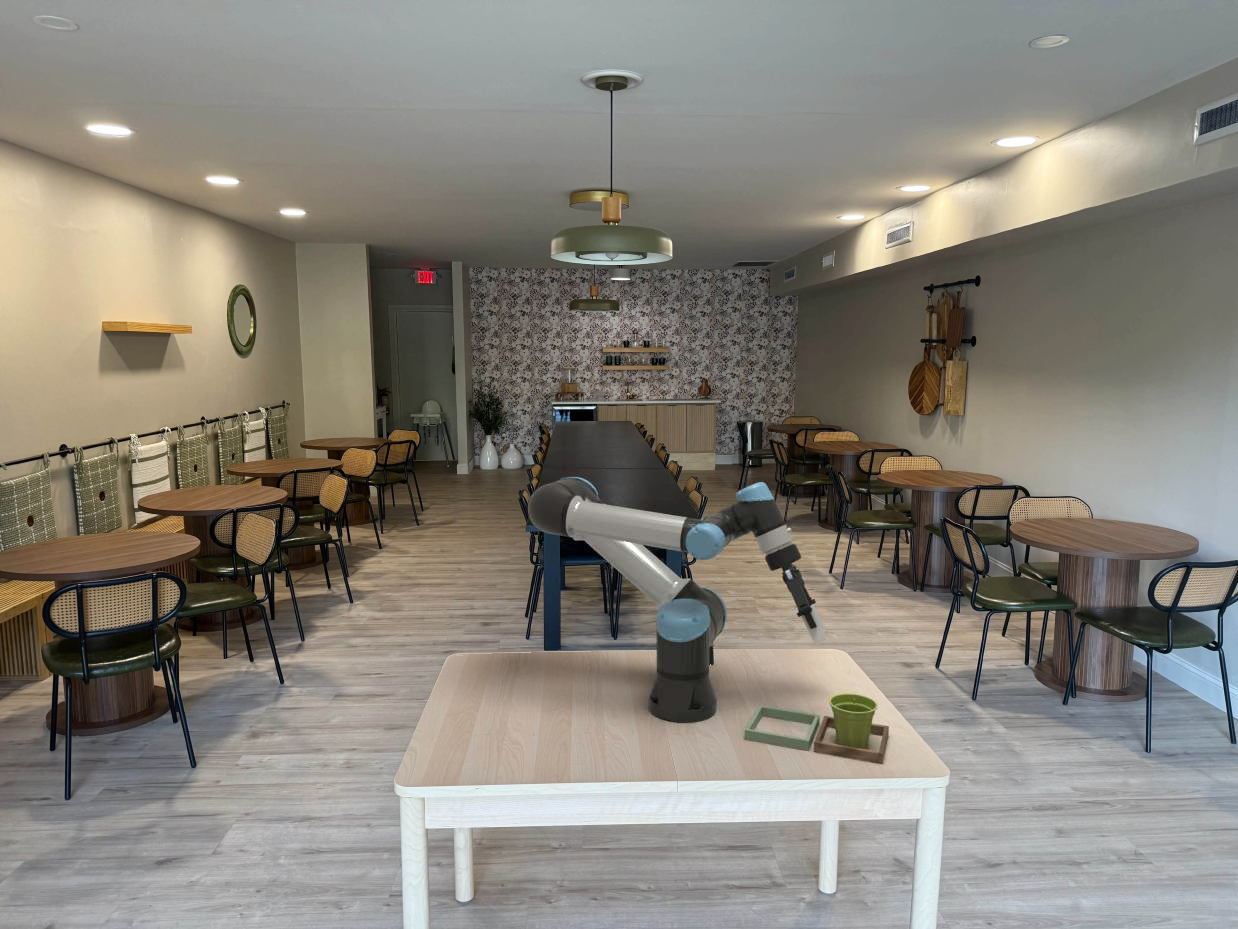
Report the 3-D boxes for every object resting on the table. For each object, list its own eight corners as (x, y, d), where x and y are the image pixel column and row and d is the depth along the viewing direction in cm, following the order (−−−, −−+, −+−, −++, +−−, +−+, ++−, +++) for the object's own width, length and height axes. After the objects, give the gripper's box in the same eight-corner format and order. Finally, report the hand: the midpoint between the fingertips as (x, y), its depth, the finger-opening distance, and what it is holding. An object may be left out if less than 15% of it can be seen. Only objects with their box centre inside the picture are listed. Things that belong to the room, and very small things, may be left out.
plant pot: (818, 741, 164) (819, 700, 163) (847, 728, 169) (849, 689, 168) (856, 759, 156) (857, 716, 155) (885, 745, 162) (887, 704, 161)
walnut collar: (813, 751, 159) (814, 742, 159) (824, 724, 171) (824, 715, 171) (882, 764, 154) (882, 754, 154) (888, 735, 166) (888, 726, 166)
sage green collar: (744, 739, 165) (744, 730, 165) (759, 713, 177) (759, 705, 177) (808, 750, 160) (808, 741, 160) (819, 723, 172) (819, 714, 171)
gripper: (792, 543, 168) (837, 639, 164) (796, 540, 192) (835, 624, 188) (759, 558, 169) (803, 653, 166) (767, 553, 193) (806, 636, 190)
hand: (820, 637), depth 177 cm, fingers open, 13 cm apart
